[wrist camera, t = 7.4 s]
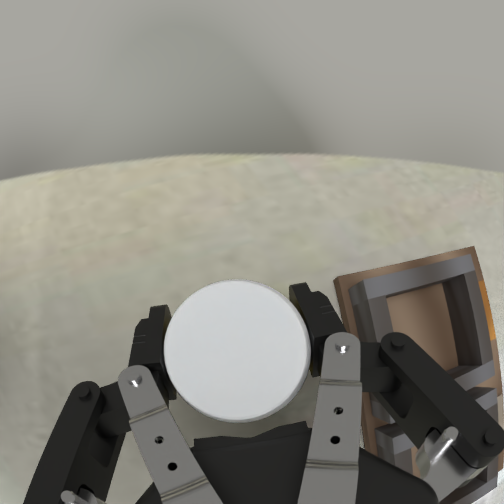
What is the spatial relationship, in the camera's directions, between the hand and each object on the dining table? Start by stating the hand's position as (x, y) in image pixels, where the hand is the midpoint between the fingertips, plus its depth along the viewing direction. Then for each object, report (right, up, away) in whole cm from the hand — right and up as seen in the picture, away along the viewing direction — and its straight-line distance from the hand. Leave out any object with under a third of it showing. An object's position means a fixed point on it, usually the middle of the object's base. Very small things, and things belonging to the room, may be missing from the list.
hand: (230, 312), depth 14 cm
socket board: (+15, -8, +6) cm, 18 cm away
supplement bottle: (0, -3, +4) cm, 5 cm away
